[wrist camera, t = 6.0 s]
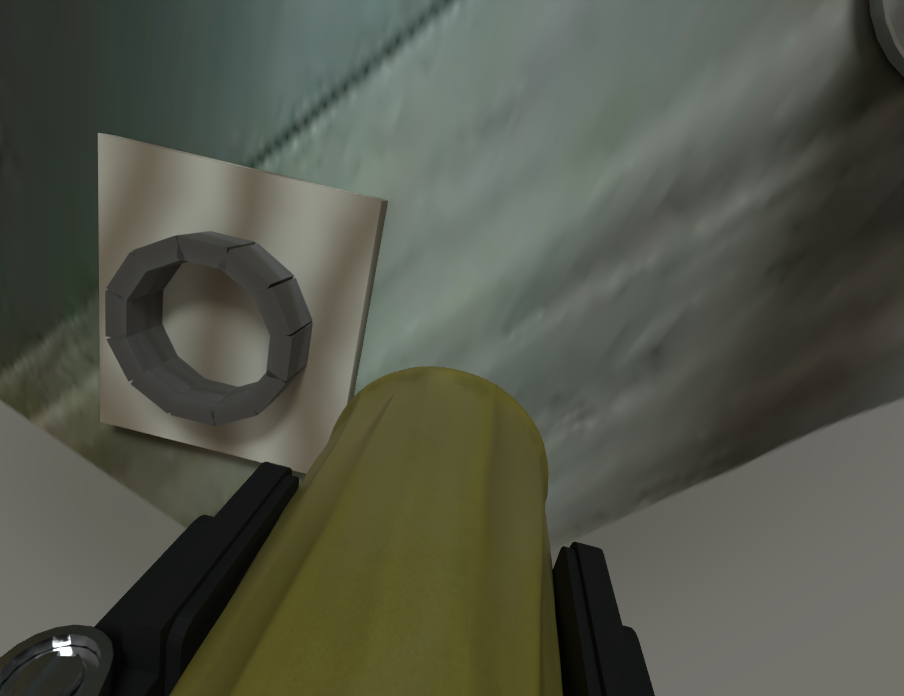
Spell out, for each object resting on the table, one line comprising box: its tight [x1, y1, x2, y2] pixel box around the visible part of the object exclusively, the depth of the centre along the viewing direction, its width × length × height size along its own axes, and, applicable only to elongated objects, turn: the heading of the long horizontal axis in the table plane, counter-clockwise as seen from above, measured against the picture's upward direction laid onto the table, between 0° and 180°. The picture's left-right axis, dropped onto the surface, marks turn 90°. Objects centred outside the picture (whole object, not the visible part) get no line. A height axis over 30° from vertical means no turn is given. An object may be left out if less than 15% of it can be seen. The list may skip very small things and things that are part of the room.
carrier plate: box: [98, 133, 388, 474], centre depth 28 cm, size 16×18×4 cm
